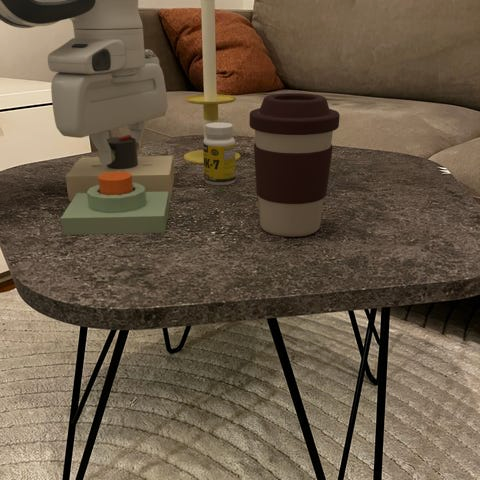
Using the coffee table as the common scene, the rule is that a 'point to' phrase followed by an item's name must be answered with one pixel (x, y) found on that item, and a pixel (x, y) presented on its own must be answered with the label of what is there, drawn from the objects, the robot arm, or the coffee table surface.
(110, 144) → the knob
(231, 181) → the supplement bottle
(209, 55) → the candle
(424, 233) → the coffee table surface
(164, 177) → the panel
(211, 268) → the coffee table surface
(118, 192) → the power button
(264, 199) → the coffee cup
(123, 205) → the button housing
